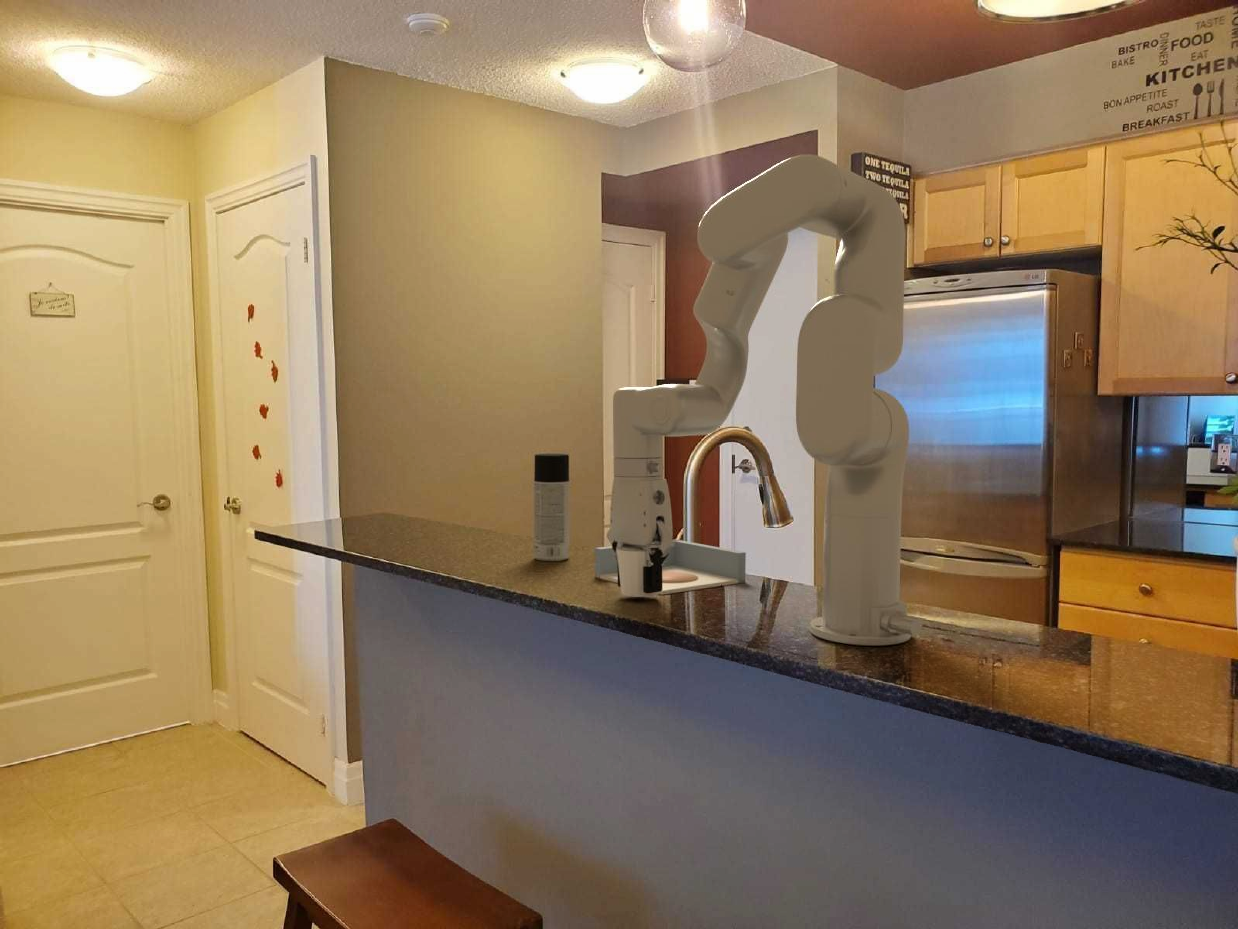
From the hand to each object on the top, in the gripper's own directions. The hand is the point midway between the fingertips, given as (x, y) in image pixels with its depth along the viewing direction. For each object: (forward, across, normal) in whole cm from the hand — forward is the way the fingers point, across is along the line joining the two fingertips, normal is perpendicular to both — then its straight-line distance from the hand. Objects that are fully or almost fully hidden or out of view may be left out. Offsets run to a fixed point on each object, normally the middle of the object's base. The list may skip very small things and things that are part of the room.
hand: (639, 587), depth 138 cm
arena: (+2, +10, -14) cm, 17 cm away
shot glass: (+1, 0, 0) cm, 1 cm away
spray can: (+1, +39, -9) cm, 40 cm away
